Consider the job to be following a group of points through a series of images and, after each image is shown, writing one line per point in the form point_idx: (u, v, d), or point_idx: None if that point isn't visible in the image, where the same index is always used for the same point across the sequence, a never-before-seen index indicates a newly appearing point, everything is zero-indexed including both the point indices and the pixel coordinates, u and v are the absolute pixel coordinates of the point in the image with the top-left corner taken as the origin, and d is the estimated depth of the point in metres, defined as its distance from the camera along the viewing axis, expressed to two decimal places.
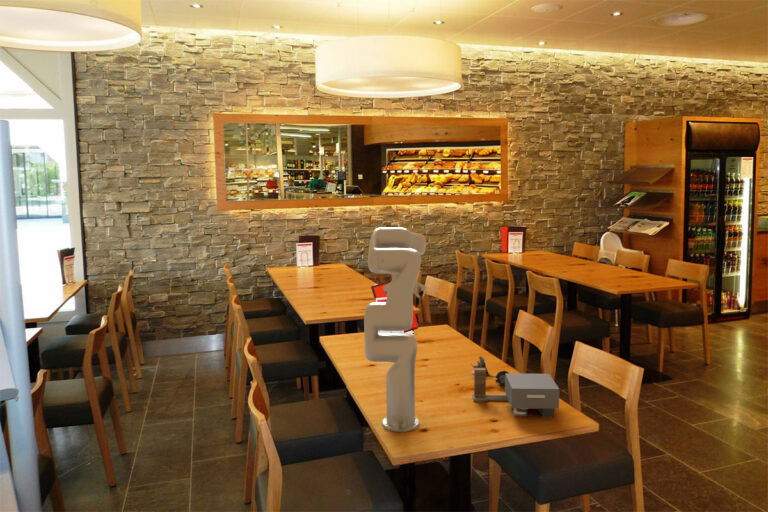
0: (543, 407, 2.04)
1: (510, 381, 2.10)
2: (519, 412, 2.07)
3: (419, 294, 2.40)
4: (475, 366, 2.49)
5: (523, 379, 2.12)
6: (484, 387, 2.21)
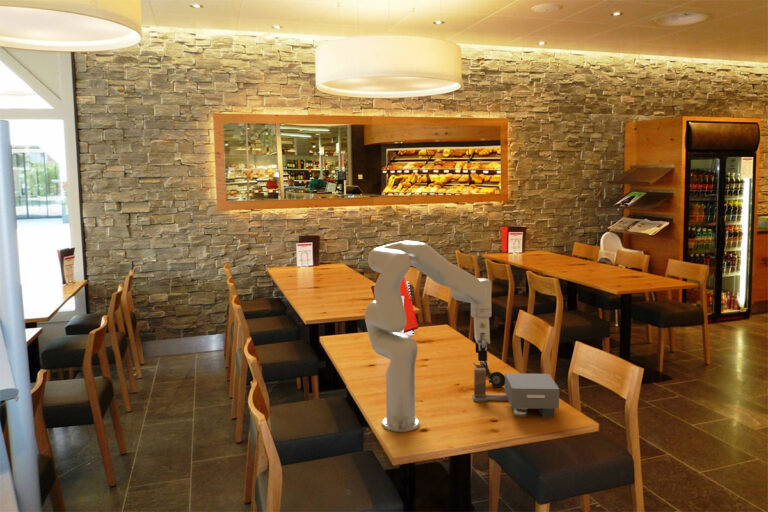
0: (543, 407, 2.04)
1: (510, 381, 2.10)
2: (519, 412, 2.07)
3: None
4: (476, 365, 2.50)
5: (523, 379, 2.12)
6: (484, 387, 2.21)
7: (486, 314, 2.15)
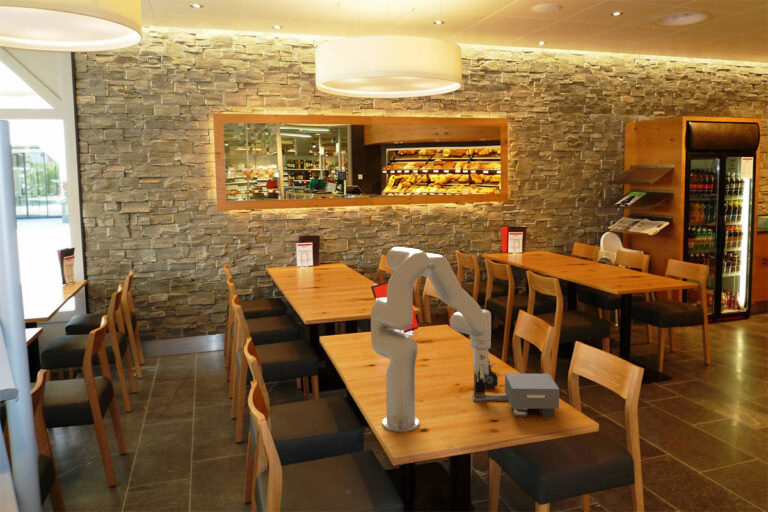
0: (543, 407, 2.04)
1: (510, 381, 2.10)
2: (519, 412, 2.07)
3: None
4: None
5: (523, 379, 2.12)
6: None
7: (485, 346, 2.17)
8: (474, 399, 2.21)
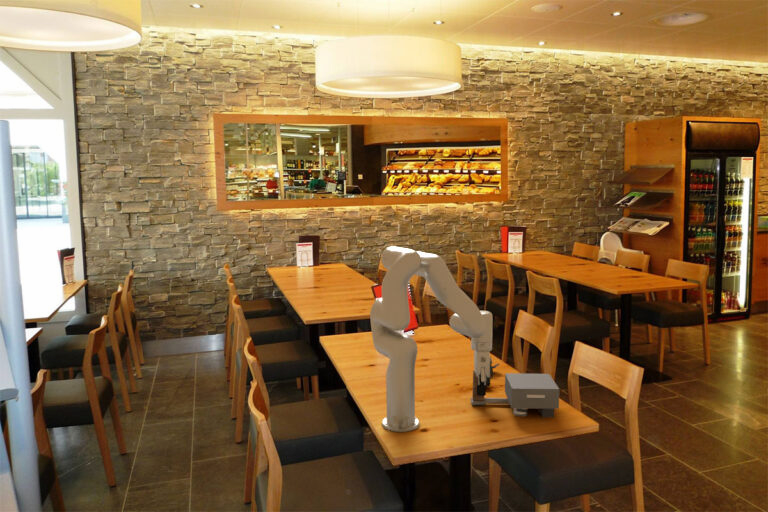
0: (543, 407, 2.04)
1: (510, 381, 2.10)
2: (519, 412, 2.07)
3: None
4: None
5: (523, 379, 2.12)
6: None
7: (487, 348, 2.12)
8: (473, 402, 2.17)
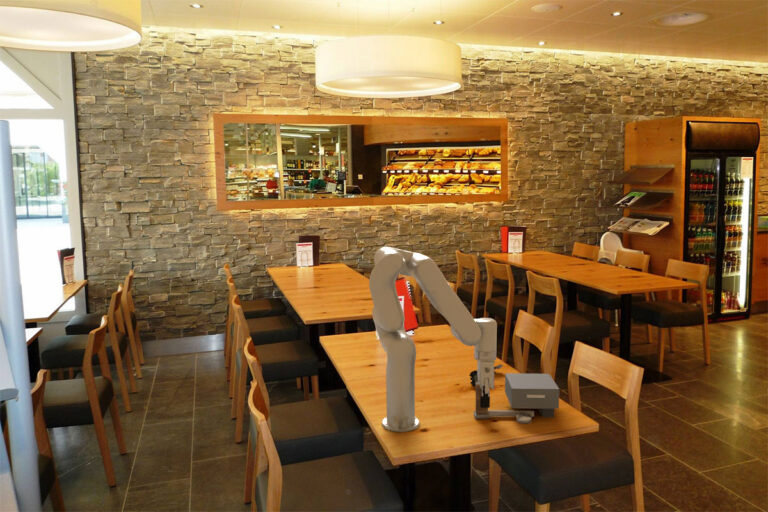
0: (543, 407, 2.04)
1: (510, 381, 2.10)
2: (523, 419, 2.01)
3: None
4: None
5: (523, 379, 2.12)
6: None
7: (491, 357, 2.01)
8: (476, 416, 2.05)
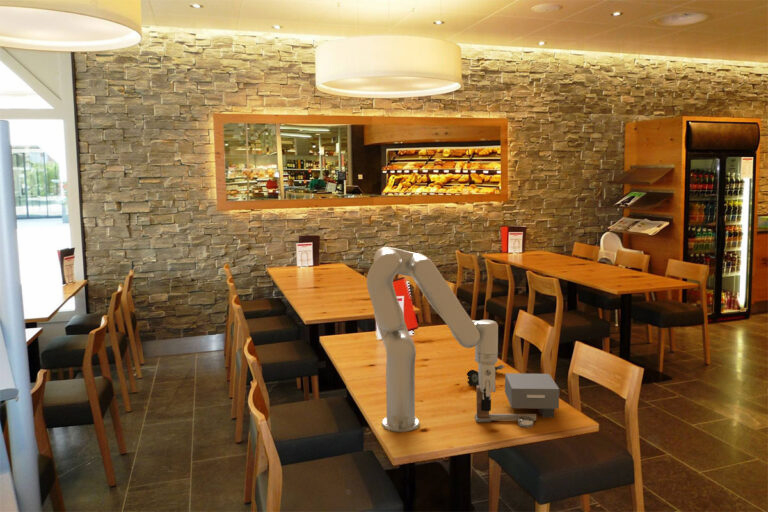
0: (543, 407, 2.04)
1: (510, 381, 2.10)
2: (524, 423, 1.98)
3: None
4: None
5: (523, 379, 2.12)
6: None
7: (492, 360, 1.98)
8: (477, 420, 2.02)
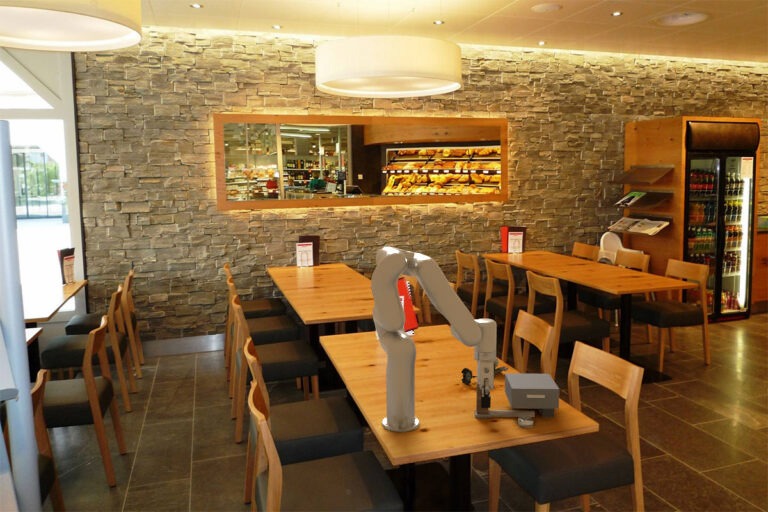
0: (543, 407, 2.04)
1: (510, 381, 2.10)
2: (524, 423, 1.98)
3: None
4: None
5: (523, 379, 2.12)
6: None
7: (490, 358, 2.02)
8: (477, 415, 2.06)
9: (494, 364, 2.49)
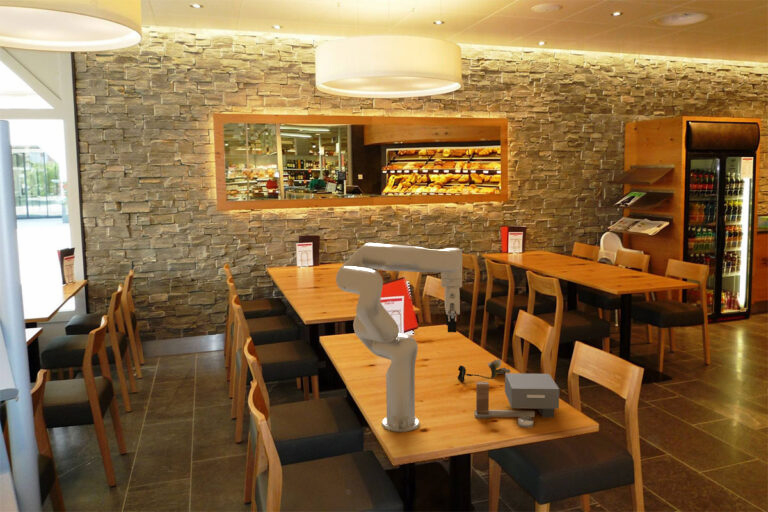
0: (543, 407, 2.04)
1: (510, 381, 2.10)
2: (524, 423, 1.98)
3: None
4: (489, 364, 2.52)
5: (523, 379, 2.12)
6: (487, 403, 2.06)
7: (456, 284, 2.11)
8: (477, 415, 2.06)
9: (495, 365, 2.48)
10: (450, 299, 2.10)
